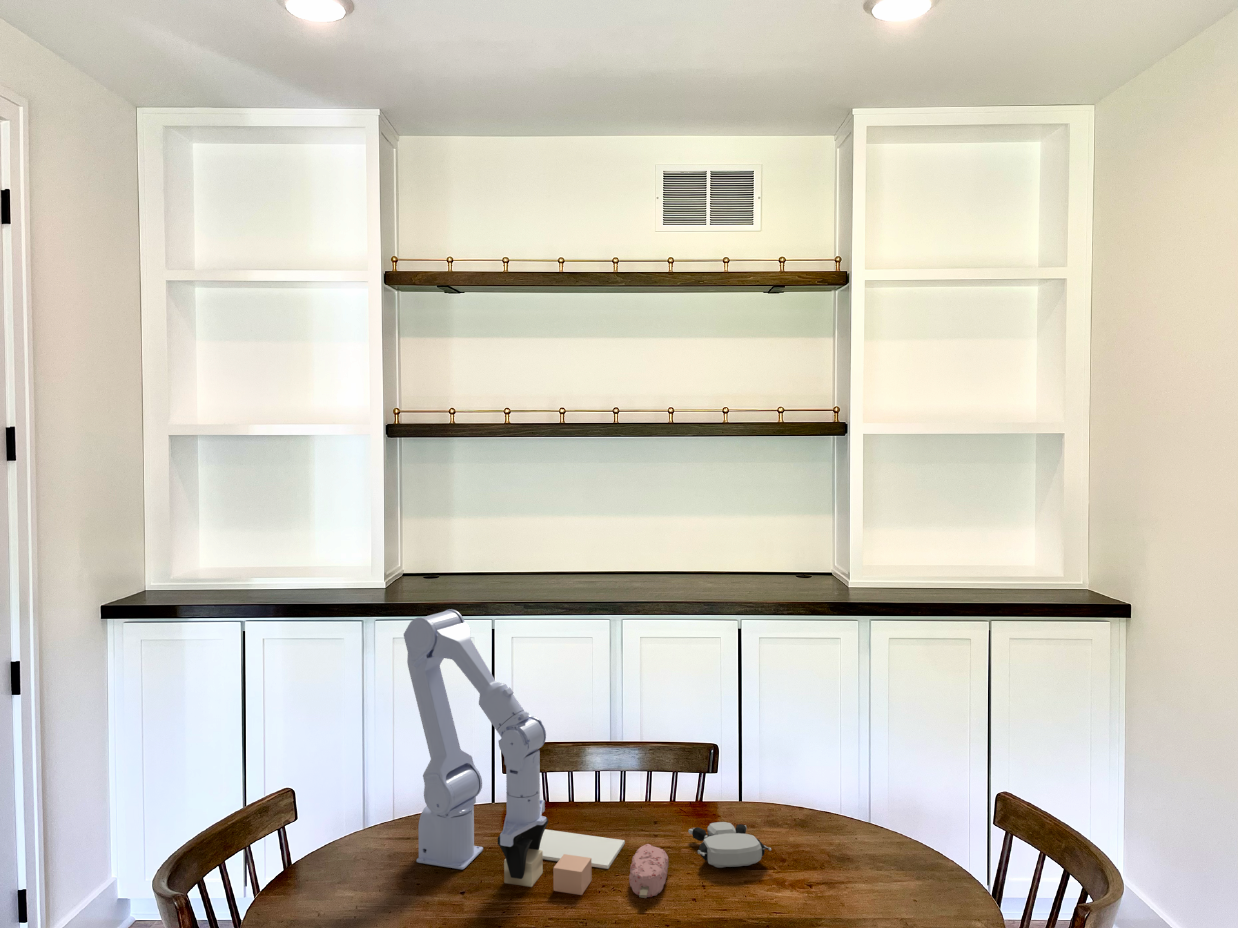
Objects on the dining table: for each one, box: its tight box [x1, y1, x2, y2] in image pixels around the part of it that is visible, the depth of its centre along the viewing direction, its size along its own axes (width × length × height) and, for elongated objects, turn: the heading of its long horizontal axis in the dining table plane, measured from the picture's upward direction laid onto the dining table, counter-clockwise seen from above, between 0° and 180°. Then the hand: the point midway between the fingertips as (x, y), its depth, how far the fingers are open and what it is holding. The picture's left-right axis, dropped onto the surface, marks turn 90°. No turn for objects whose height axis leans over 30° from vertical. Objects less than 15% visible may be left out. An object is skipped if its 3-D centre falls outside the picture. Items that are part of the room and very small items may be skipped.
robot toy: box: [688, 821, 772, 869], centre depth 154 cm, size 12×4×15 cm
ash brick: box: [503, 849, 544, 888], centre depth 147 cm, size 5×5×4 cm
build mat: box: [539, 828, 626, 870], centre depth 157 cm, size 16×10×1 cm, turn 73°
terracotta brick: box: [552, 854, 593, 896], centre depth 144 cm, size 5×5×4 cm
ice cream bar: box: [628, 843, 669, 899], centre depth 144 cm, size 6×4×15 cm
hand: (523, 869), depth 147 cm, fingers closed on ash brick, 5 cm apart
